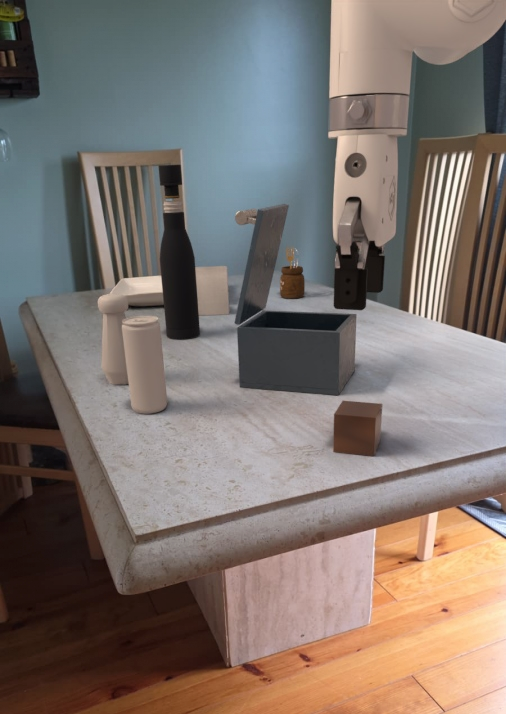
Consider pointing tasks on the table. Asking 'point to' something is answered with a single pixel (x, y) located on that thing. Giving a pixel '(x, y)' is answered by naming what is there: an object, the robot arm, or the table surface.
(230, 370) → the table surface
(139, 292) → the square plate
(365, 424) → the block
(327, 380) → the bin
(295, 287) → the utensil holder
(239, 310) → the bin lid
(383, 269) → the robot arm
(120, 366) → the salt shaker
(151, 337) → the beverage can
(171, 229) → the black water bottle
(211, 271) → the beige rectangular box
